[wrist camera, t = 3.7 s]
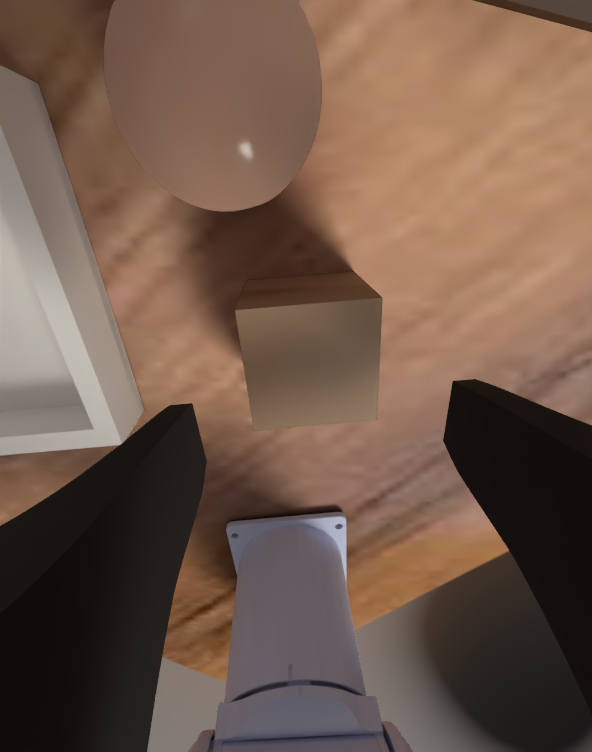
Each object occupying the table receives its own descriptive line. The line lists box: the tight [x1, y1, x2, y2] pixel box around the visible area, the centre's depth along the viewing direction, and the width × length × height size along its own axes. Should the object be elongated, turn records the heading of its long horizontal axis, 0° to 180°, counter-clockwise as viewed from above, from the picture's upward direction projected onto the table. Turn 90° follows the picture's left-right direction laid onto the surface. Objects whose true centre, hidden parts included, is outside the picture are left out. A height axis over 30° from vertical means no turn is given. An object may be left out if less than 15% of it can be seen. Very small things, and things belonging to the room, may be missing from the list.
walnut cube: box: [235, 271, 382, 431], centre depth 15 cm, size 5×5×5 cm
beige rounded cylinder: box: [104, 0, 322, 211], centre depth 11 cm, size 5×5×6 cm
